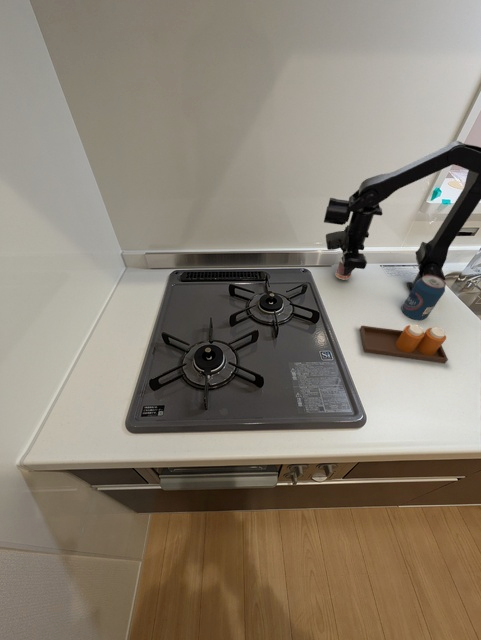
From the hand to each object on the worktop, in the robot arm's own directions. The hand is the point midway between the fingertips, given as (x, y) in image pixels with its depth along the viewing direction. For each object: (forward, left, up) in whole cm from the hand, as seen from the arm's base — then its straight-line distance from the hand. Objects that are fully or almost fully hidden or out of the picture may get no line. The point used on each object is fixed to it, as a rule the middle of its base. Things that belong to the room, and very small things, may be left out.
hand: (344, 271), depth 92 cm
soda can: (+15, +19, -3) cm, 24 cm away
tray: (+29, +12, -2) cm, 31 cm away
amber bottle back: (+29, +18, -2) cm, 34 cm away
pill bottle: (0, 0, -2) cm, 2 cm away
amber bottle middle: (+29, +13, -2) cm, 32 cm away
